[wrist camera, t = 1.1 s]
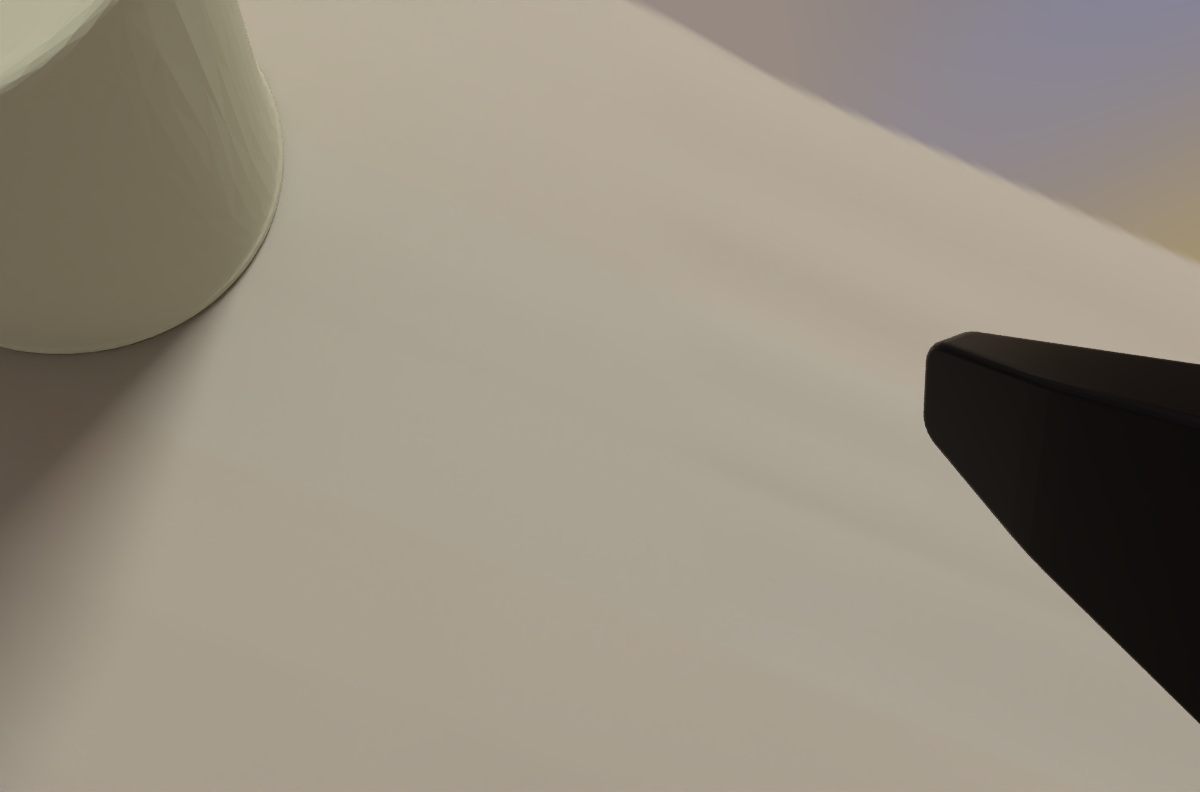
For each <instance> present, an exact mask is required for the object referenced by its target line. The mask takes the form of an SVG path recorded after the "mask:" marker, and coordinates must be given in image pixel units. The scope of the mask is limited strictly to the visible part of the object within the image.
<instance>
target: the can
mask: <svg viewBox="0 0 1200 792" xmlns="http://www.w3.org/2000/svg"><path fill="white" fill-rule="evenodd" d="M283 167H284V151H283V138H282V130H281V125H280V120H279V115H278V112H277V108H276V105H275V102H274V98H273V96H272V93H271V91H270V89H269V86H268V84H267V82H266V79H265V77H264V75H263V73H262V72H261V70H260V68H259V66H258V64H257V63H256V61H255V59H254V56H253V52H252V49H251V46H250V42H249V39H248V35H247V32H246V28H245V25H244V22H243V18H242V15H241V11H240V8H239V5H238V1H237V0H0V347H3V348H8V349H12V350H17V351H24V352H34V353H43V354H76V353H87V352H97V351H102V350H108V349H113V348H118V347H122V346H126V345H130V344H134V343H136V342H139V341H142V340H145V339H148V338H151V337H153V336H156V335H158V334H160V333H163V332H165V331H167V330H169V329H171V328H173V327H175V326H177V325H179V324H181V323H183V322H185V321H186V320H188V319H190V318H191V317H193V316H195V315H196V314H197V313H199V312H200V311H202V310H203V309H204V308H206V307H207V306H208V305H210V304H211V303H212V302H213V301H215V300H216V299H217V298H218V297H219V296H220V295H221V294H223V293H224V292H225V291H226V290H227V289H228V288H229V287H230V286H231V285H232V284H233V283H234V282H235V280H236V279H237V278H238V277H239V276H240V275H241V274H242V272H243V271H244V270H245V269H246V268H247V266H248V265H249V263H250V262H251V260H252V259H253V257H254V256H255V254H256V253H257V251H258V249H259V248H260V246H261V244H262V242H263V241H264V239H265V236H266V234H267V232H268V230H269V228H270V225H271V223H272V220H273V218H274V215H275V212H276V209H277V205H278V201H279V197H280V192H281V186H282V180H283Z"/></svg>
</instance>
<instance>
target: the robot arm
mask: <svg viewBox="0 0 1200 792" xmlns="http://www.w3.org/2000/svg"><path fill="white" fill-rule="evenodd" d="M924 422H925V426H926V429H927V432H928V434H929V436H930V437H931V439H932V441H933V442H934V443H935V445H936V446H937V447H938V448H939V449H940V451H941V452H942V453H943V454H944V455H945V457H946V458H947V459H948V460H949V461H950V463H951V464H952V465H953V466H954V467H955V469H956V470H957V471H958V472H959V473H960V475H961V476H962V477H963V478H964V479H965V481H966V482H967V483H968V484H969V485H970V487H971V488H972V489H973V490H974V491H975V493H976V494H977V495H978V496H979V497H980V499H981V500H982V501H983V502H984V503H985V505H986V506H987V507H988V508H989V509H990V511H991V512H992V513H993V514H994V515H995V517H996V518H997V519H998V520H999V521H1000V523H1001V524H1002V525H1003V526H1004V527H1005V529H1006V530H1007V531H1008V532H1009V534H1010V535H1011V536H1012V537H1013V538H1014V539H1015V540H1016V542H1017V543H1018V544H1019V545H1020V546H1021V547H1022V548H1023V549H1024V551H1025V552H1026V553H1027V554H1028V555H1029V556H1030V557H1031V558H1032V559H1033V560H1034V561H1035V562H1036V563H1037V564H1038V565H1039V566H1040V567H1041V568H1042V570H1043V571H1044V572H1045V573H1046V574H1047V575H1048V576H1049V577H1050V578H1051V579H1052V580H1054V581H1055V582H1056V583H1057V584H1058V585H1059V586H1060V587H1061V588H1062V589H1063V590H1064V591H1065V592H1066V593H1067V594H1068V595H1069V596H1070V597H1071V598H1072V599H1073V600H1074V601H1075V602H1076V603H1077V604H1078V605H1079V606H1080V607H1081V608H1082V609H1083V610H1084V611H1085V612H1086V613H1087V614H1088V615H1089V616H1090V617H1091V618H1092V619H1093V620H1094V621H1095V622H1096V623H1097V624H1098V625H1099V626H1100V627H1101V628H1102V629H1103V630H1104V631H1105V632H1107V633H1108V634H1109V635H1110V636H1111V637H1112V638H1113V639H1114V640H1115V641H1116V642H1117V643H1118V644H1119V645H1120V646H1121V647H1122V648H1123V649H1124V650H1125V651H1126V652H1127V653H1128V654H1129V655H1130V656H1131V657H1132V658H1133V659H1134V660H1135V661H1136V662H1137V663H1138V664H1139V665H1140V666H1141V667H1142V668H1143V669H1144V670H1145V671H1146V672H1147V673H1148V674H1149V675H1150V676H1151V677H1152V678H1153V679H1154V680H1155V681H1156V682H1157V683H1158V684H1160V685H1161V686H1162V687H1163V688H1164V689H1165V690H1166V691H1167V692H1168V693H1169V694H1170V695H1171V696H1172V697H1173V698H1174V699H1175V700H1176V701H1177V702H1178V703H1179V704H1180V705H1181V706H1182V707H1183V708H1184V709H1185V710H1186V711H1187V712H1188V713H1189V714H1190V715H1191V716H1192V717H1193V718H1194V719H1195V720H1196V721H1197V722H1198V723H1199V724H1200V364H1193V363H1186V362H1180V361H1173V360H1166V359H1159V358H1152V357H1145V356H1139V355H1132V354H1125V353H1118V352H1111V351H1104V350H1098V349H1091V348H1084V347H1077V346H1070V345H1063V344H1057V343H1050V342H1043V341H1036V340H1029V339H1022V338H1016V337H1009V336H1002V335H995V334H988V333H981V332H972V331H971V332H965V333H962V334H959V335H956V336H953V337H951V338H948V339H945V340H942V341H940V342H937V343H935V344H934V345H933V346H932V347H931V348H930V350H929V352H928V354H927V357H926V371H925V392H924Z"/></svg>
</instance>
